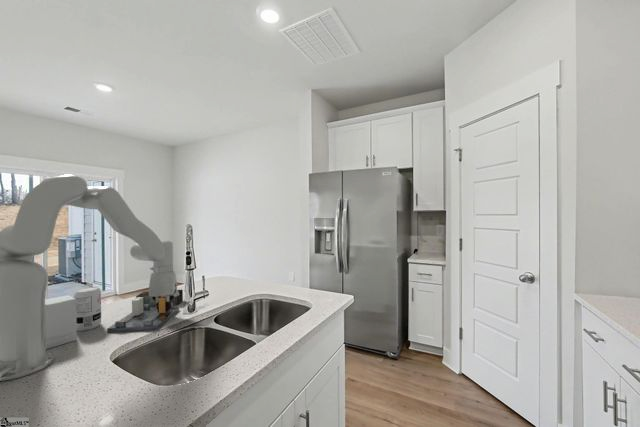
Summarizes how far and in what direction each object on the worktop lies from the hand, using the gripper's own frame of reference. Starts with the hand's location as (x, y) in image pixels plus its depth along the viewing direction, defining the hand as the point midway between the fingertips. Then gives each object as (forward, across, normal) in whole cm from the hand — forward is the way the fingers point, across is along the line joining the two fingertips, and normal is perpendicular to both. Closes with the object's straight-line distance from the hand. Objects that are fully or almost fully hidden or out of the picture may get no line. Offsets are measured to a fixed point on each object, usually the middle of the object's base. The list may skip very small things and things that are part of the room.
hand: (163, 310), depth 120 cm
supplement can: (+3, -25, -8) cm, 27 cm away
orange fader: (0, 0, 0) cm, 0 cm away
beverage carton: (+3, -9, +16) cm, 19 cm away
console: (+2, -5, -4) cm, 7 cm away
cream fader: (0, -10, -2) cm, 10 cm away
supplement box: (+3, -27, -20) cm, 34 cm away
